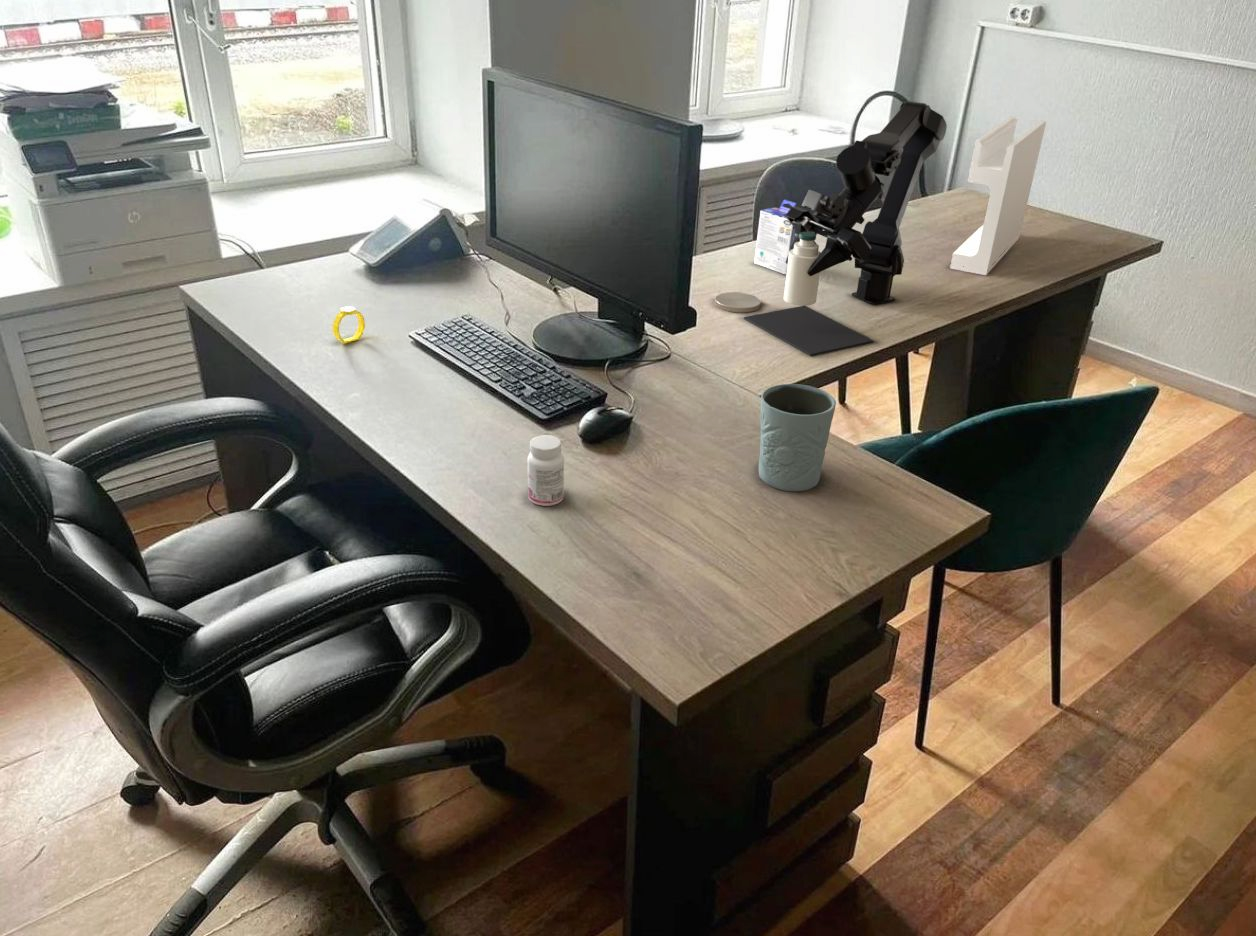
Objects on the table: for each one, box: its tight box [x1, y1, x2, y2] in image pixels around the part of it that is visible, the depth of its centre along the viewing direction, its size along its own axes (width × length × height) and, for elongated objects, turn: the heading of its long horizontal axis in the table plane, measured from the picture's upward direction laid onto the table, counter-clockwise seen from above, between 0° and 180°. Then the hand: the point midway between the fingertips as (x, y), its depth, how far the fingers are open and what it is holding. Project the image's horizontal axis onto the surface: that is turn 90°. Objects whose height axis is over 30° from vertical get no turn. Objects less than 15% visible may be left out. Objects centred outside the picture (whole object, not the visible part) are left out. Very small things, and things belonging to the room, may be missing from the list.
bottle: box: [783, 232, 822, 307], centre depth 184 cm, size 6×6×12 cm
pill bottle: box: [527, 434, 565, 507], centre depth 132 cm, size 5×5×8 cm
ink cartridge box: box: [753, 199, 798, 276], centre depth 218 cm, size 10×6×14 cm, turn 41°
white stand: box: [949, 116, 1047, 276], centre depth 231 cm, size 35×8×28 cm, turn 150°
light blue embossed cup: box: [758, 383, 837, 492], centre depth 139 cm, size 10×10×12 cm
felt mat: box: [743, 306, 874, 357], centre depth 190 cm, size 15×20×1 cm
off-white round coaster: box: [714, 291, 761, 313], centre depth 200 cm, size 9×9×1 cm
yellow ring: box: [332, 305, 366, 344], centre depth 176 cm, size 6×3×6 cm, turn 142°
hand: (797, 269), depth 183 cm, fingers closed on bottle, 6 cm apart
